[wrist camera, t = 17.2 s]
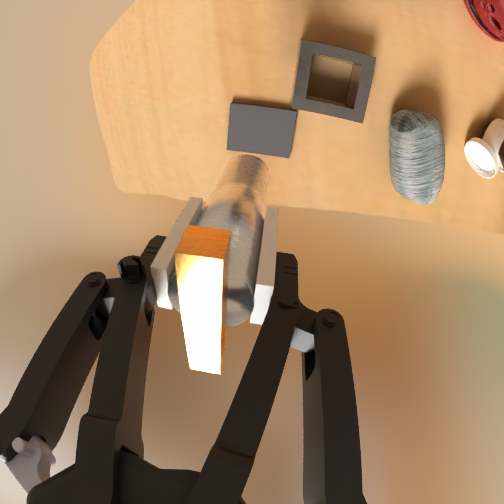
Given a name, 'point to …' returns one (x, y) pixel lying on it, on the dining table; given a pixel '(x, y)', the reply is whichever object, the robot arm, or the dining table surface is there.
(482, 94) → the dining table surface
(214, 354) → the chuck key
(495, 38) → the plant pot
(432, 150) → the spool
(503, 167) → the spread jar
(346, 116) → the block
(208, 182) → the dining table surface
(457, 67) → the dining table surface
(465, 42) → the dining table surface
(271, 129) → the rest mat
